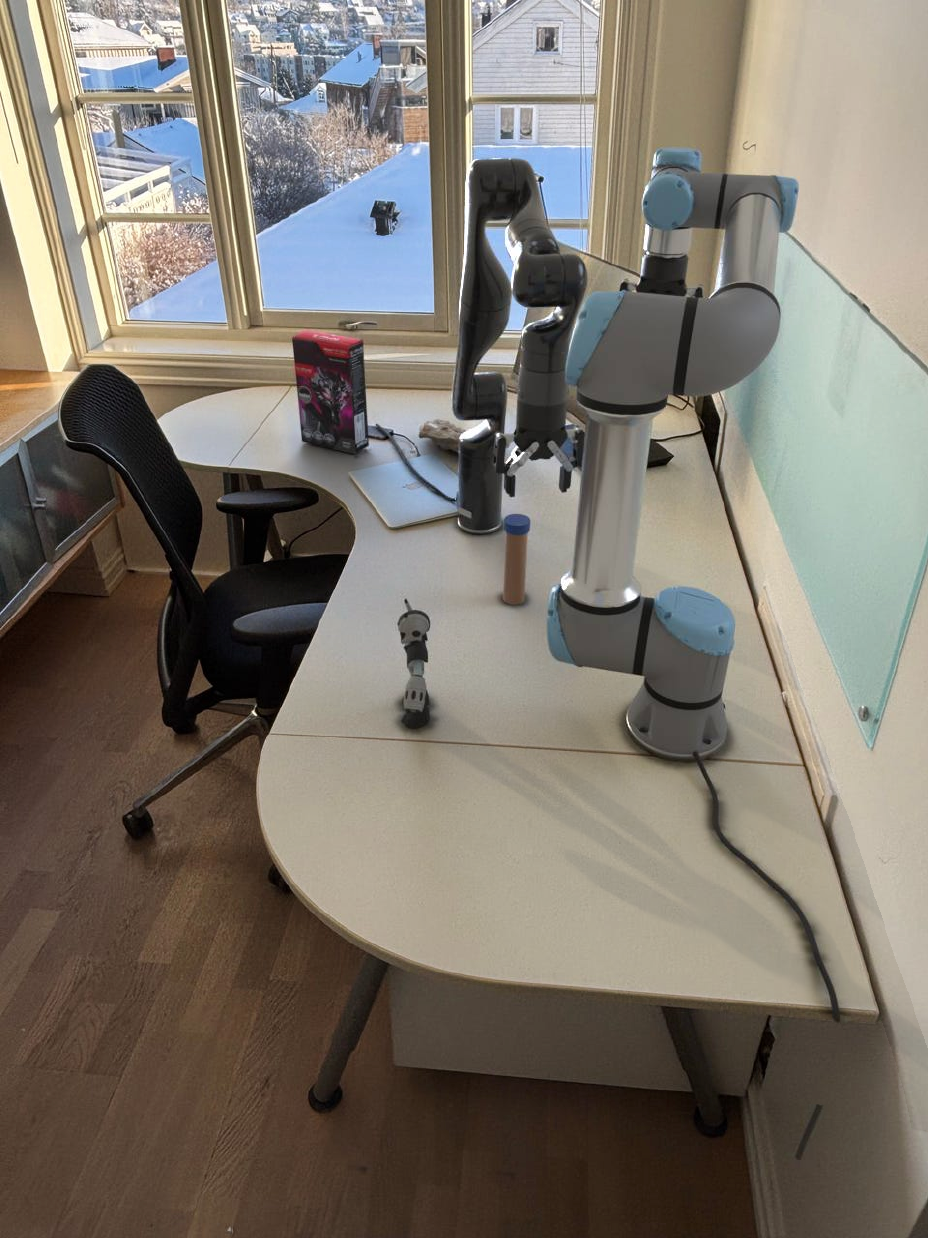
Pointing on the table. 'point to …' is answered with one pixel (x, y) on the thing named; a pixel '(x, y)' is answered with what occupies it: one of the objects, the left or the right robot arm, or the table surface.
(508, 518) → the lid
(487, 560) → the table surface
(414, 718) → the robot
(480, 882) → the table surface
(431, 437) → the stone
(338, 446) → the graphics card box
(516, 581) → the jar
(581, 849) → the table surface
